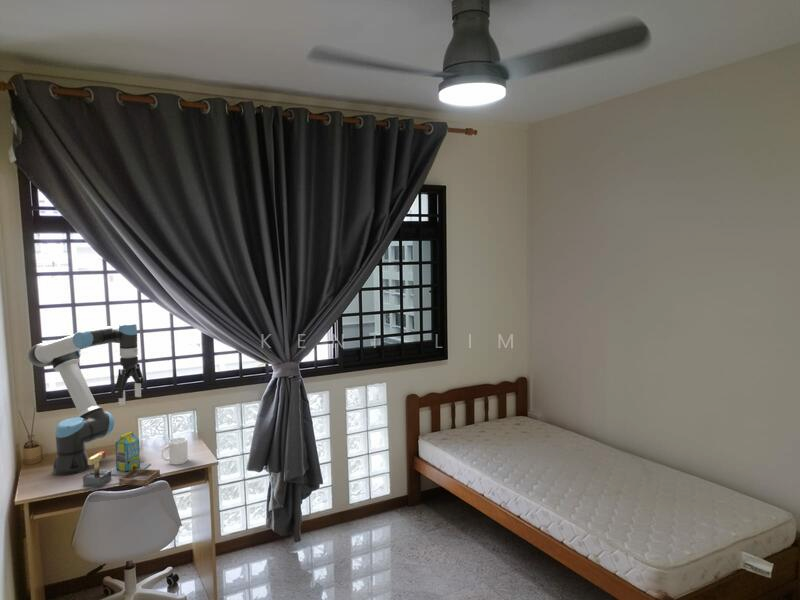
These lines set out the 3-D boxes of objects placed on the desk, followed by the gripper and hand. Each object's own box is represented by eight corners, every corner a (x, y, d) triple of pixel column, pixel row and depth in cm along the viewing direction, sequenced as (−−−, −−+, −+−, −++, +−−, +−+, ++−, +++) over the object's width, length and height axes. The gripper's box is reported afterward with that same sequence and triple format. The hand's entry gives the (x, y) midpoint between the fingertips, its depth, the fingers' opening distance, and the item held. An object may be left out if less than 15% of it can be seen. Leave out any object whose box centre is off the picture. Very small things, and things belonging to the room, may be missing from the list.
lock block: (83, 485, 245) (82, 477, 245) (94, 478, 253) (94, 469, 253) (100, 486, 244) (100, 477, 244) (111, 479, 252) (111, 470, 252)
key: (92, 477, 244) (91, 459, 243) (88, 477, 244) (87, 458, 243) (105, 469, 253) (105, 451, 252) (101, 469, 253) (101, 451, 252)
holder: (119, 484, 247) (119, 478, 247) (133, 473, 259) (133, 468, 258) (146, 485, 246) (146, 480, 246) (159, 475, 258) (159, 469, 257)
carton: (129, 472, 258) (127, 435, 257) (116, 470, 261) (114, 432, 259) (141, 466, 265) (140, 430, 263) (128, 464, 268) (127, 428, 266)
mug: (159, 462, 273) (159, 441, 272) (185, 457, 280) (184, 436, 279) (163, 468, 266) (163, 446, 265) (189, 462, 273) (189, 441, 272)
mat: (106, 475, 257) (105, 473, 257) (123, 463, 271) (123, 462, 271) (135, 476, 256) (135, 475, 256) (150, 464, 270) (150, 463, 270)
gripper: (121, 362, 248) (123, 408, 250) (150, 351, 273) (151, 393, 275) (105, 361, 249) (107, 407, 251) (135, 351, 274) (137, 393, 276)
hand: (130, 400), depth 263 cm, fingers open, 13 cm apart
